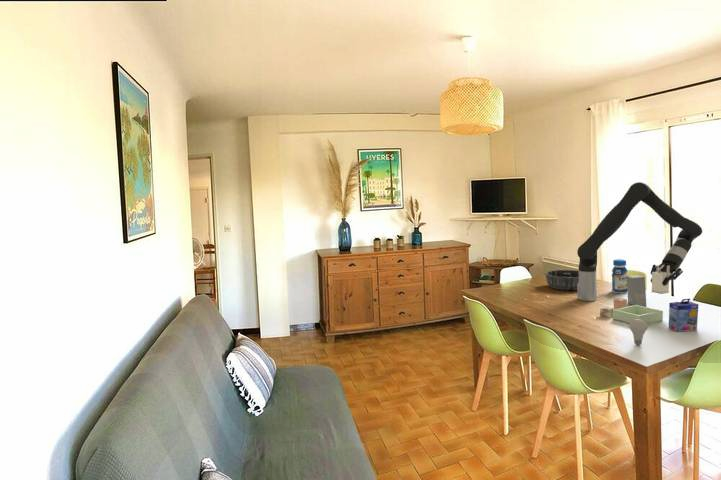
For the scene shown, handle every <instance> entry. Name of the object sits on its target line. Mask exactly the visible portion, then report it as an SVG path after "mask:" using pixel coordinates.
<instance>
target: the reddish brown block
mask: <svg viewBox="0 0 721 480" xmlns="http://www.w3.org/2000/svg"><path fill="white" fill-rule="evenodd" d="M624 307H628V298H627V299H626V298H622V297H620V298H619V297H617V298H613V310H614V309H619V308H624Z"/></svg>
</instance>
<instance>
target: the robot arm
mask: <svg viewBox="0 0 721 480" xmlns="http://www.w3.org/2000/svg"><path fill="white" fill-rule="evenodd" d="M641 202H642V203H644V204H645V205H647V206H648V207H650V208H651V209H652V210H653V211H654V212H655V213H656V214H657V215H658V216H659V217H660V218H661V219H662V220H663V221H664V222H665V223H667V224H668V225H669V226H670V227H672V228H675V229H676V228H680V229H681V230H680V232H679V233H678V235H677V237H676V240H675V242H674V243H673V244H672V246H671V247H670V249H668V251H667V252H666V254H665V256H664V257H663V258H662V261H661V263H660V264H659V265H656V264H653V265H652V268H651V269H650V270H651V271H650V275H651V276H652V272H666V273H668V274H667V276H666V277H665V279H664V281H663V282H662V284H663V285H664V286H666V285H667V284H668V282H669V283H670V281H671V280H673V281H676V280H677V279H678V278H679V277H680V276H681V275H682V274H683V273H684V271H683V270H682V268H681V267H680V266H681V265H682V263H683V262H684V260H685V259H686V257H687V255H688V253H689V252H690V250H691V248H692V244H693V243H692V242H693V241H694V240H695V239H697V238H699V237H700V236H701V235H702V234H703V228H702V227H701V226H700V224H698V223H697V222H695V221H693V220H691V219H690V218H687V217H684V216H683V215H682V214H681V213H679V212H678V211H677V210H676V209H675V208H673V207H672V206H670V205H669V204H668V203H666V202H665V201H664V200H663V199H661V197H659V196H658V195H657V194H656V193H655V192H654V191H653V190H652V188H650V185H649V184H647V183H646V182H642V181H636V182H634V183H633V184H631V185H630V186H629V188H628V190H626V192H625V194H624V195H623V197H622V198H621V200H619V202H618V203H617V204H615V206H614V207H613V208H612V209H611V210H610V211H609V212H608V213H607V214H606V215H605V216H604V218H603V219H602V220H601V221H600V223H599V224H598V225H597V226H596V228H595V229H594V231H593V233H592V234H591V235H590V236H589V237H588V238H587V239H586V240H585V241H584V242H583V243H582V244H581V245H580V246H579V247H578V248H577V250H576V251H577V253H576V254H577V256H578V257H579V263H578V271H579V283H577V290H576V293H577V294H576V297H577V299H578V300H579V301H583V302H595V301H597V266H598V250H599V249H600V248H601V246H602V245H603V244H604V243H605V241H607V240H608V239H610V238H611V237H612V236H613V235H614V234H616V232H617V231H618V230H619V229H620V228H621V227H622V225H623V224H624V223H625V221H626V220H627V219H628V217H629V215H630V214H631V212H632V211H633V209H634V208H635V207H636V206H637V205H638V204H639V203H641ZM650 283H651V284H652V277H651V278H650Z"/></svg>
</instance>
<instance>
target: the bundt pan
mask: <svg viewBox="0 0 721 480" xmlns="http://www.w3.org/2000/svg"><path fill="white" fill-rule="evenodd" d="M544 274H545V278H546V283H547V285H548V286H550V287H551V288H553V289H555V290H561V291H565V290H566V291H569V290H571V291H577V283H579V270H575V269H554V270H547V271H545V273H544Z"/></svg>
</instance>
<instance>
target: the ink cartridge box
mask: <svg viewBox="0 0 721 480" xmlns="http://www.w3.org/2000/svg"><path fill="white" fill-rule="evenodd" d="M668 307H669V310H668V329H670V330H672V331H674V332H677V333H679V332H680V333H681V332H693V331H696V332H697V330H698V316H699V315H698V314H699V303H696V302H692V301H691V298H682V300H681V301H674V302H669V305H668Z"/></svg>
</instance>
